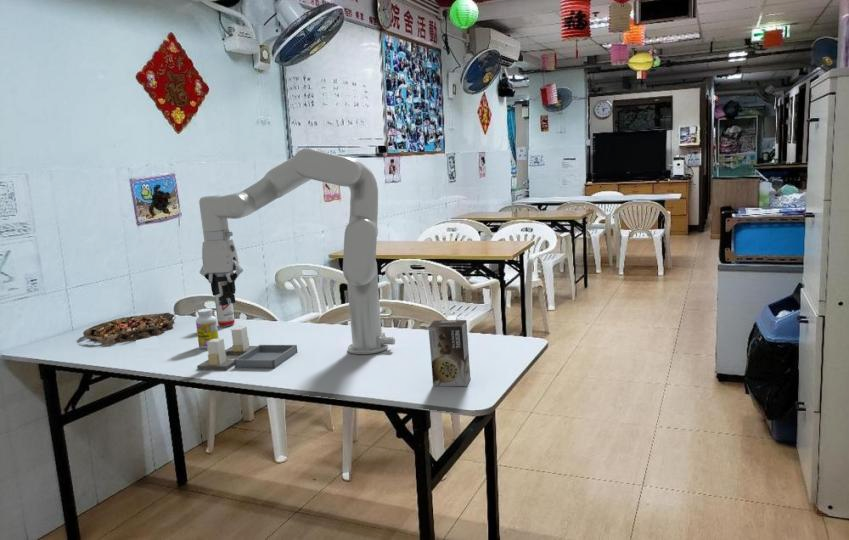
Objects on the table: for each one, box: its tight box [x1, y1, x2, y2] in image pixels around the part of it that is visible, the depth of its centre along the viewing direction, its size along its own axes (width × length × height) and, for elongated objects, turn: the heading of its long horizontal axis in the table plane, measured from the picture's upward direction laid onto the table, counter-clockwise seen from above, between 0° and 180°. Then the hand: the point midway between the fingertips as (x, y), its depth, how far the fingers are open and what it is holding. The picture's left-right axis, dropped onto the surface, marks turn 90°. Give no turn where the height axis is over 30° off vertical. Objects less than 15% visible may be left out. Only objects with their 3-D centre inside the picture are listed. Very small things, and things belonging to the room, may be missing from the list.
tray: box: [234, 344, 298, 370], centre depth 202 cm, size 13×16×2 cm
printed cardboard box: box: [427, 319, 471, 387], centre depth 169 cm, size 9×6×16 cm
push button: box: [214, 273, 236, 306], centre depth 202 cm, size 7×5×10 cm
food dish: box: [82, 312, 177, 346], centre depth 252 cm, size 35×33×8 cm
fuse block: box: [196, 326, 258, 371], centre depth 205 cm, size 10×21×8 cm, turn 166°
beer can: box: [214, 294, 236, 328], centre depth 251 cm, size 6×6×16 cm
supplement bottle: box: [195, 307, 220, 350], centre depth 222 cm, size 7×7×13 cm
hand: (224, 293), depth 202 cm, fingers closed on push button, 4 cm apart
